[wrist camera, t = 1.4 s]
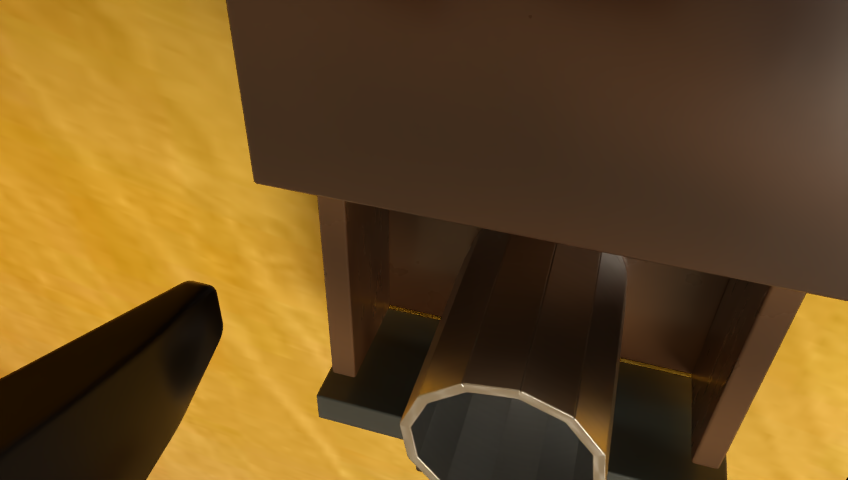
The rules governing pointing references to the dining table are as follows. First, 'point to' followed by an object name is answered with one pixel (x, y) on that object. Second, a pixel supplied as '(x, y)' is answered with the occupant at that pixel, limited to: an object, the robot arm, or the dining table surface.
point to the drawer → (642, 341)
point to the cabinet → (569, 122)
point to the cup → (521, 365)
